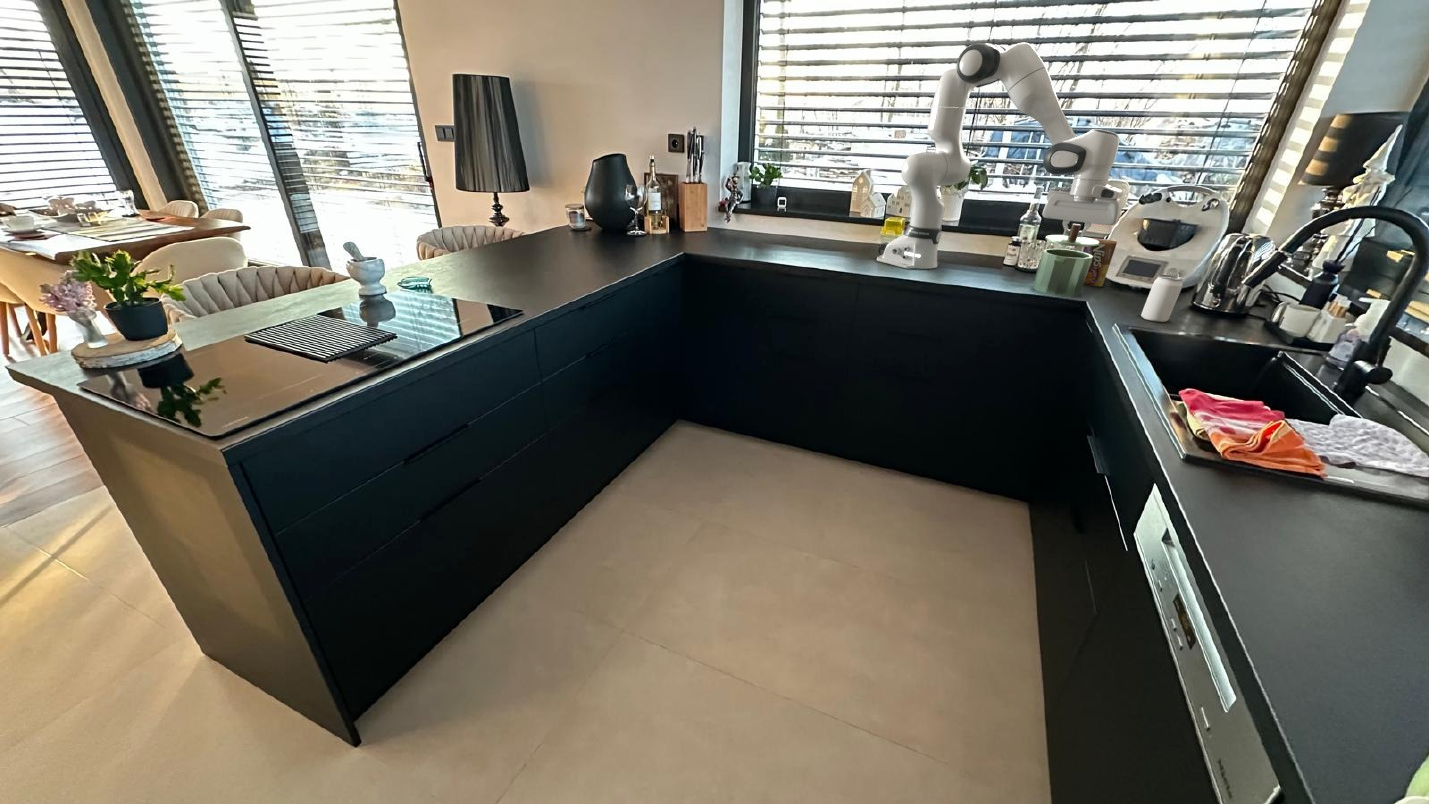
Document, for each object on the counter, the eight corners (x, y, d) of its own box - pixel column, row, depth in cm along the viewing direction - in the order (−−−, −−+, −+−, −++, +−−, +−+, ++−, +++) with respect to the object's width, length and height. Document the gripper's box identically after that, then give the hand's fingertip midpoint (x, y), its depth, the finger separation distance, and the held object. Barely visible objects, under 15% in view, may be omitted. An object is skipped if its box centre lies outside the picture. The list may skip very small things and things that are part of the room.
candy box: (1100, 285, 190) (1116, 239, 183) (1102, 288, 187) (1118, 242, 180) (1070, 281, 194) (1085, 236, 187) (1072, 284, 190) (1086, 239, 183)
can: (1157, 315, 162) (1173, 274, 156) (1173, 322, 156) (1191, 280, 151) (1135, 314, 162) (1151, 274, 156) (1150, 322, 156) (1167, 280, 150)
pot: (1024, 293, 179) (1035, 254, 174) (1041, 282, 192) (1052, 245, 186) (1071, 302, 171) (1084, 262, 165) (1086, 290, 184) (1099, 252, 178)
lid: (1038, 242, 174) (1044, 223, 171) (1051, 236, 183) (1057, 218, 181) (1091, 250, 165) (1098, 230, 162) (1102, 243, 175) (1109, 225, 172)
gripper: (1047, 186, 171) (1034, 232, 177) (1124, 193, 159) (1108, 242, 165) (1052, 185, 175) (1040, 230, 182) (1129, 192, 163) (1112, 240, 169)
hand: (1073, 236), depth 173 cm, fingers closed on lid, 2 cm apart
